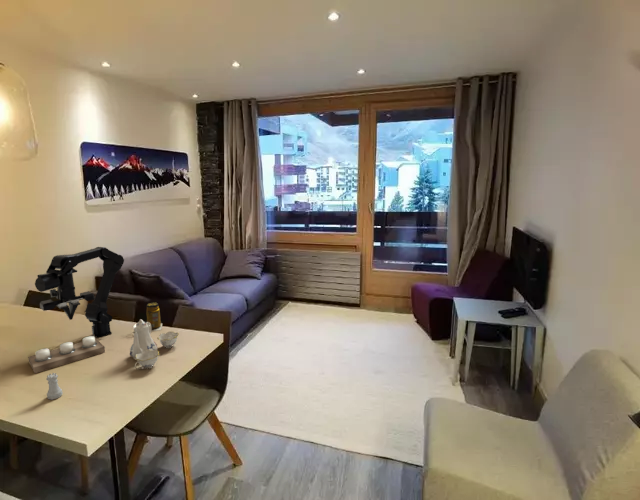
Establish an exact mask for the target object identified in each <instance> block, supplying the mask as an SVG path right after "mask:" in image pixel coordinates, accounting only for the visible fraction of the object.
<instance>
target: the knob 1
mask: <svg viewBox="0 0 640 500" xmlns="http://www.w3.org/2000/svg"><path fill="white" fill-rule="evenodd" d="M50 351H51V350H50V349H49V348H47V347H46V348H41V349H38V350H36V351H35V353H34V355H36V360H37V361H42V360H46V359H48V358H50Z"/></svg>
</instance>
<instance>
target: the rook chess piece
mask: <svg viewBox="0 0 640 500" xmlns="http://www.w3.org/2000/svg"><path fill="white" fill-rule="evenodd" d="M58 377H59V375H57V373H55V372H52V373H49V374H47V376H46V379H45V380H46V381H47V384H48V390H47V393H46V398H47V399H48V400H52V401H53V400H57V399H59V398H61V397H62V396H63V394H64V393H63V389H62V388H61V387H60V386H59V383H58Z"/></svg>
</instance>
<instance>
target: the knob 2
mask: <svg viewBox="0 0 640 500" xmlns="http://www.w3.org/2000/svg"><path fill="white" fill-rule="evenodd" d="M95 338H96V336H94V335H90V336H86V337H83V338H82V342H83V347H91V346H94V345H95Z"/></svg>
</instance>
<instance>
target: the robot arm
mask: <svg viewBox="0 0 640 500" xmlns="http://www.w3.org/2000/svg"><path fill="white" fill-rule="evenodd" d="M97 258H99V260H101V261H102V262H103V263H102V267H103V273H102V277H101V280H100V283H99V286H98V289H97V292H96V293H95V294H96V295H95V294H94V293H93V292H91V291H84V292H83V291H82V292H80V293H79V295H76V286H75V282H74V273H77V272H78V270H77V269H75V267H76V266H78V265H80V264H82V263H84V262H88V261H90V260H93V259H97ZM124 263H125V259H124V256H123V255H121V254H118V253H116V252H114V251H112V250H110V249H108V248H107V247H105V246H97V247H94V248H91V249H86V250H84V251H81V252H80V251H79V252H77V253H72V254H70V253H69V254H57V255H55V256H53V257H52V259H51V262H50V264H49V266H48V268H47V270H46V272H45V273H43V274H42V273H41V274H38V275H37V278H36V279H35V282H34V285H35V288H36V290H37V291H38V292H41V293H43V292H47V291H49V295H50V298H56V299H57V300H53V299H47V300H41V301H40V302H39V308H40V309H41V310H42V311H43V312H45V311H50V310H54V309H55V308H56V307H58V308H59V309H60V310H63V311H64V313H65V314H66V316H67V318H68V319H69V321H71V320H73V319H74V316H75V313H76V311H77V309H78V306H80V305H81V303H80V301H81V300H85V301H87V302H89V301H92V302H91V303H87V304H86V308H85V310H84V316H85V318H86V319H87V320H88V321H89V322H90V323H92V326H91V332H92V336H94V337H95V338H96V339H98V338H101V337H104V336H108V335H112V334H113V332H112V331H111V325H110V322H112V321H113V316H112V315H110V314H109V313H108V308H109V307H108V305H107V301H108V298H109V296H110V295H109V294H110V292H111V289H112V286H113V283H114V279H115V277H116V274H117V273H118V272H119V271H120V270H121V269H122V267H123V265H124ZM56 289H57V290H56Z"/></svg>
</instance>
